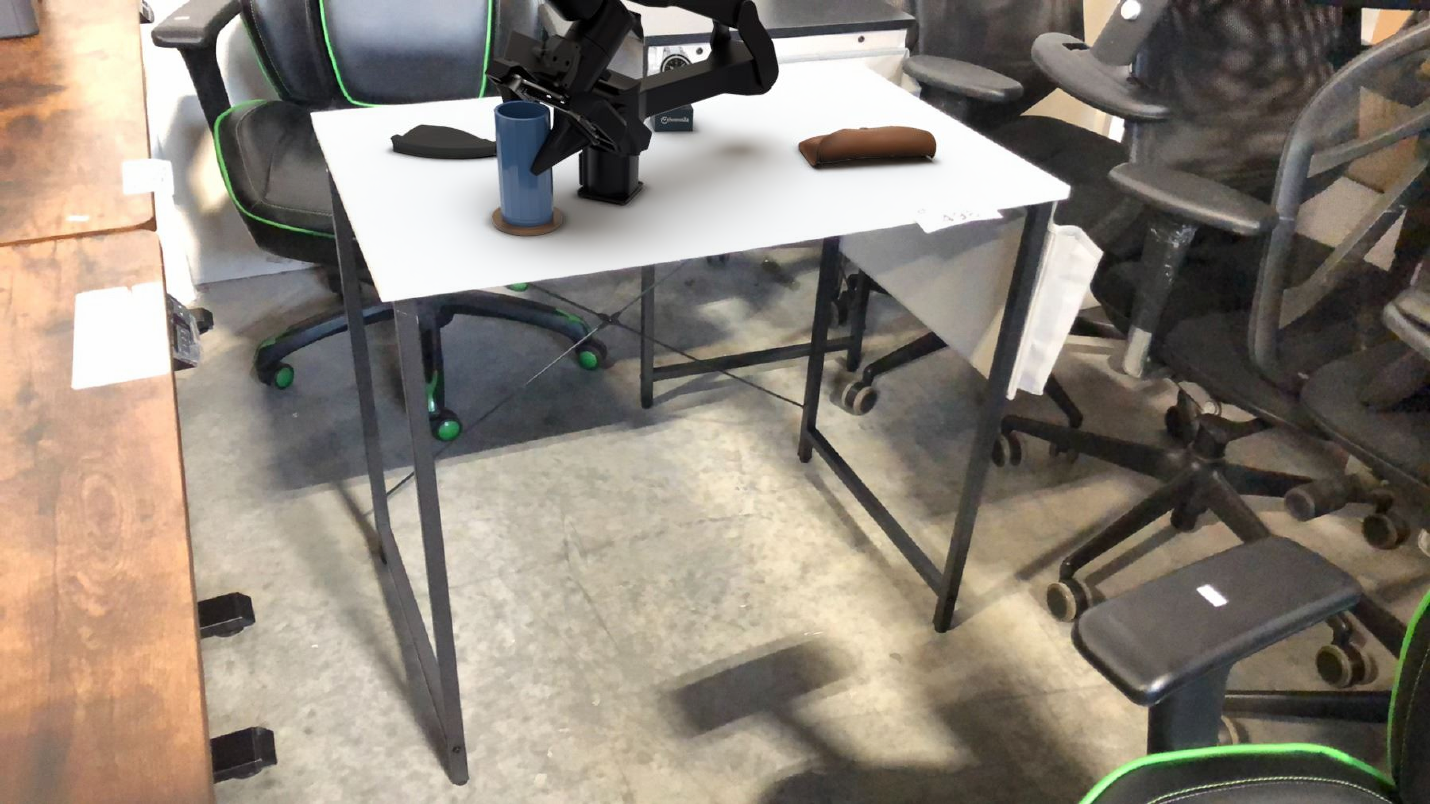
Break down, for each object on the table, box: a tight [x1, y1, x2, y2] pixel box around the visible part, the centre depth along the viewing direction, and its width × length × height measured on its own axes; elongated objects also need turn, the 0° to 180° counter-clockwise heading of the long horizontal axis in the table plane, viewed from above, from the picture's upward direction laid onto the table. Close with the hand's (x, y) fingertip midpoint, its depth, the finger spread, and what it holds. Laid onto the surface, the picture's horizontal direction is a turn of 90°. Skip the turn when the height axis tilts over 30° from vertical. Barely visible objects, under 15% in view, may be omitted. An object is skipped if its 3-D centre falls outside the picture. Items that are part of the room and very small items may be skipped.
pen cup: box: [493, 101, 555, 227], centre depth 111 cm, size 6×6×12 cm
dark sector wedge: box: [389, 123, 496, 159], centre depth 131 cm, size 8×14×2 cm, turn 74°
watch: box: [649, 46, 695, 132], centre depth 140 cm, size 6×8×11 cm
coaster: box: [491, 206, 563, 237], centre depth 115 cm, size 8×8×1 cm
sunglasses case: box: [797, 125, 937, 167], centre depth 138 cm, size 18×7×7 cm
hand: (514, 164), depth 110 cm, fingers closed on pen cup, 6 cm apart
